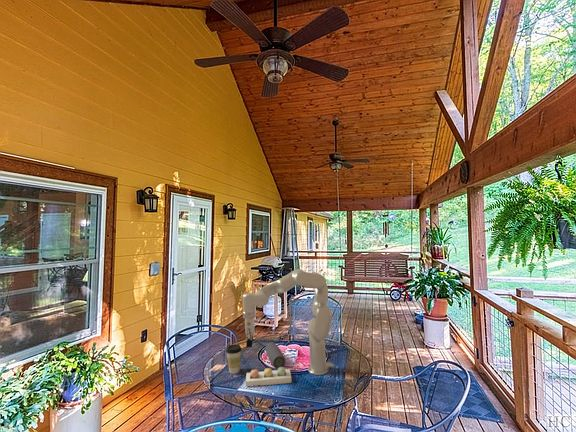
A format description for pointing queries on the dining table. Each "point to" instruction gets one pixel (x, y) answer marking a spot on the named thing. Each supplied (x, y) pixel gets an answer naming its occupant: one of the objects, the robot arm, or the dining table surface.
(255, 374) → the button terracotta
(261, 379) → the console
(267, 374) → the button ochre
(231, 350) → the coffee cup
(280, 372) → the button sage
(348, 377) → the dining table surface
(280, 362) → the bluetooth speaker
